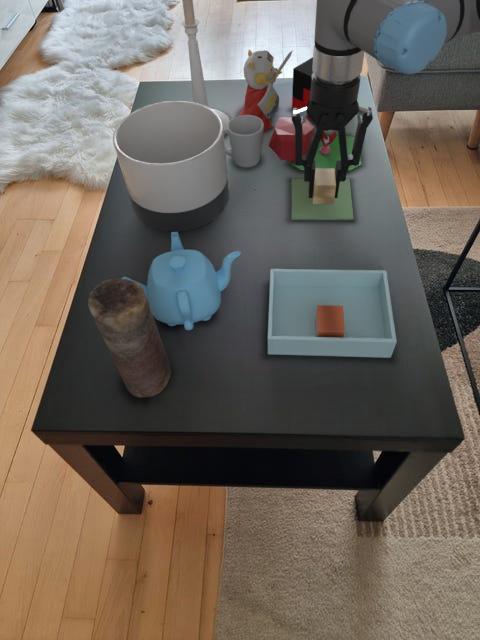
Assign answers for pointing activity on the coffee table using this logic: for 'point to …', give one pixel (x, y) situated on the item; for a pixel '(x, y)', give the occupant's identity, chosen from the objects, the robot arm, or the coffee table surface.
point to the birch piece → (324, 186)
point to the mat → (309, 211)
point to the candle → (131, 335)
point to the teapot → (185, 285)
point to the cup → (245, 139)
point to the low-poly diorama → (326, 151)
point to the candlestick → (197, 60)
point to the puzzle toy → (302, 84)
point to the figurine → (261, 86)
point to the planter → (173, 164)
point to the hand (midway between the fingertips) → (322, 193)
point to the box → (338, 290)
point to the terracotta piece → (329, 321)
